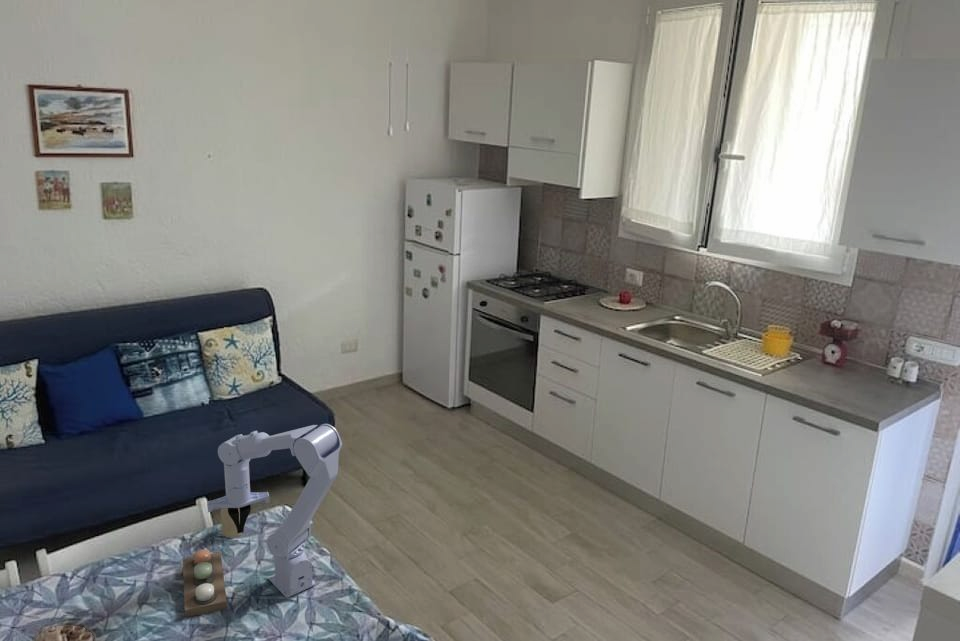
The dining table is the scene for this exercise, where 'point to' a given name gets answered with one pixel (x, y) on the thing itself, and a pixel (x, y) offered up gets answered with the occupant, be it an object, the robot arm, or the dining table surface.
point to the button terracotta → (201, 556)
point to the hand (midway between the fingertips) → (240, 530)
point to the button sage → (203, 570)
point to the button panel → (215, 579)
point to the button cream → (204, 592)
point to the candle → (228, 524)
